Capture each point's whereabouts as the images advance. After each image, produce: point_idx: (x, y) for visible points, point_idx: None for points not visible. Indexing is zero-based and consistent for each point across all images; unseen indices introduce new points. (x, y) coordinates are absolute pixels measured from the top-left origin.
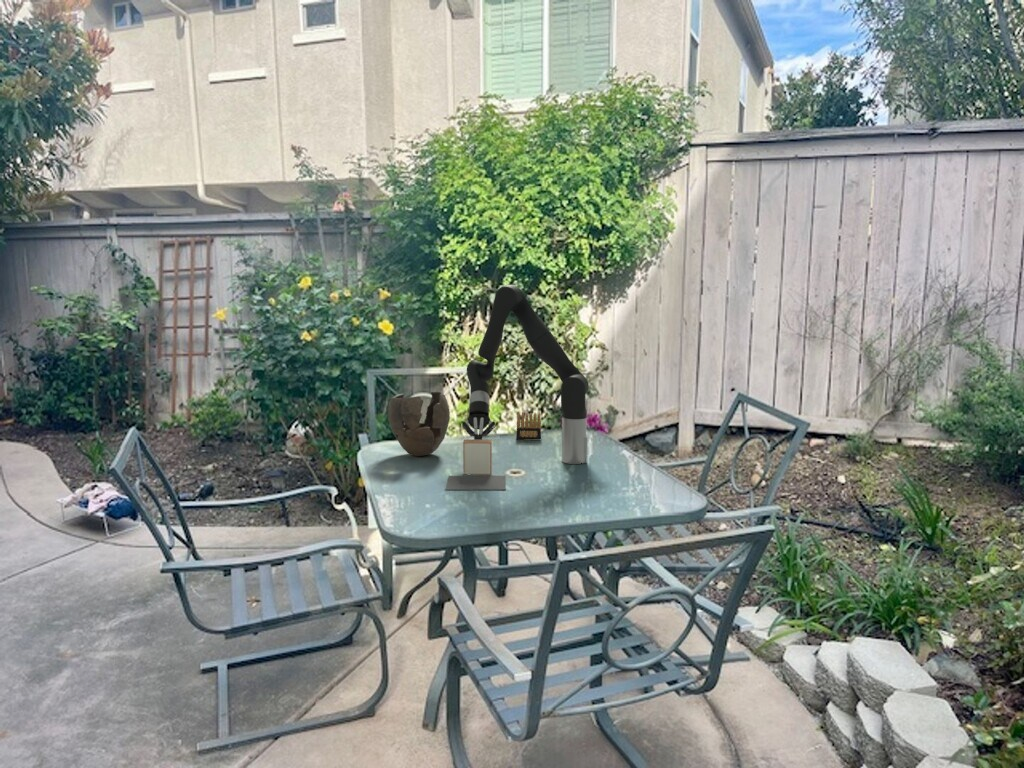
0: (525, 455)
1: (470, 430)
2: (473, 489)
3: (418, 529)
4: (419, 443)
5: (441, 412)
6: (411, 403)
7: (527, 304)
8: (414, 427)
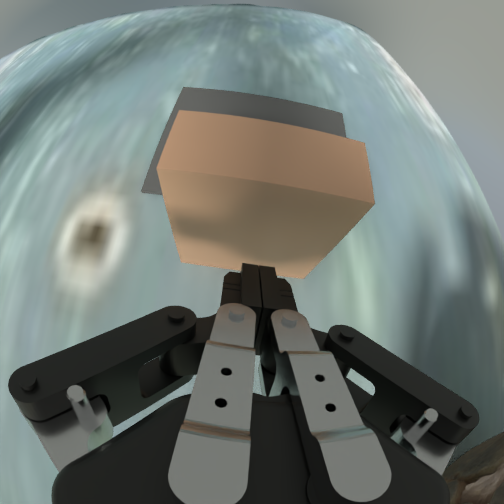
0: (25, 473)
1: (357, 343)
2: (269, 97)
3: (339, 27)
4: (499, 434)
5: None
6: None
7: None
8: None
